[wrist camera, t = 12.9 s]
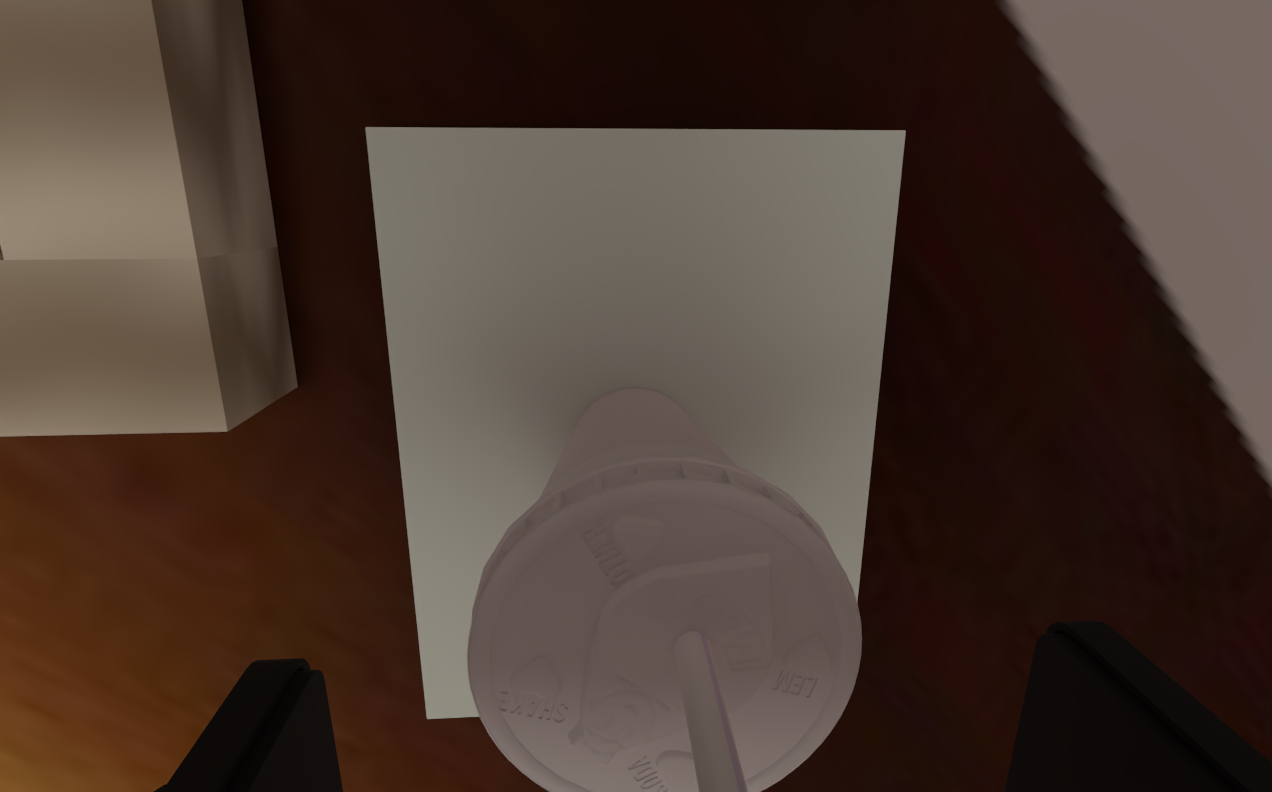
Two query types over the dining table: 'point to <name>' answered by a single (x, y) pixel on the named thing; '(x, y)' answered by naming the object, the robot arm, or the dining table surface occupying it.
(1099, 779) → the robot arm
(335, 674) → the dining table surface
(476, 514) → the serving board
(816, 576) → the smoothie
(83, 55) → the wooden square frame
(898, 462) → the dining table surface
